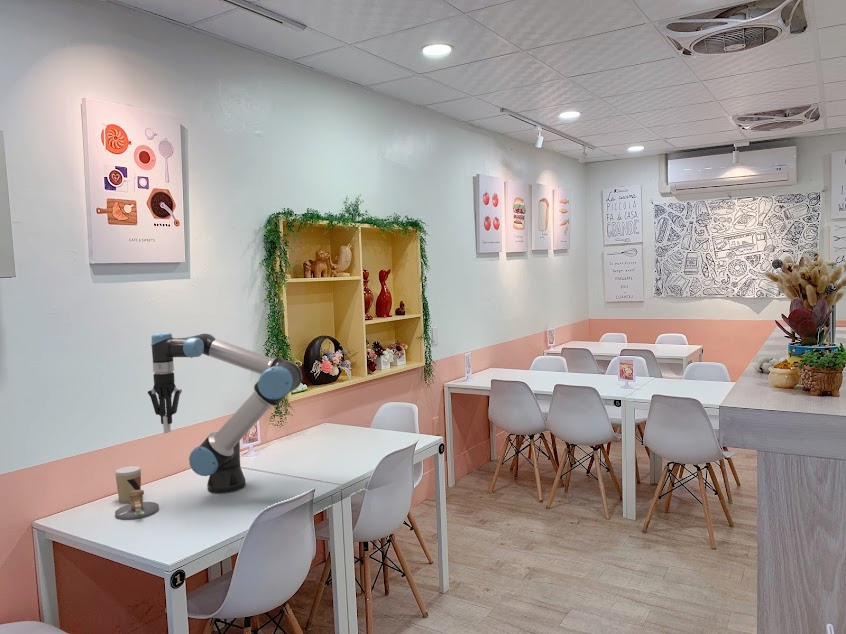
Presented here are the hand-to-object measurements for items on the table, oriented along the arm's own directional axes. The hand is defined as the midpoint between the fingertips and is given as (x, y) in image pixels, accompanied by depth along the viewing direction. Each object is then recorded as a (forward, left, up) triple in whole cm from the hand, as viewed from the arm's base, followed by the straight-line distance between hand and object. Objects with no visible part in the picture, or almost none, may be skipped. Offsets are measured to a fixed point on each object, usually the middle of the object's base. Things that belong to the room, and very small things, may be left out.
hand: (167, 432), depth 254 cm
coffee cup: (+16, +1, -27) cm, 31 cm away
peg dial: (+4, +18, -25) cm, 31 cm away
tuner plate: (+6, +15, -26) cm, 31 cm away
